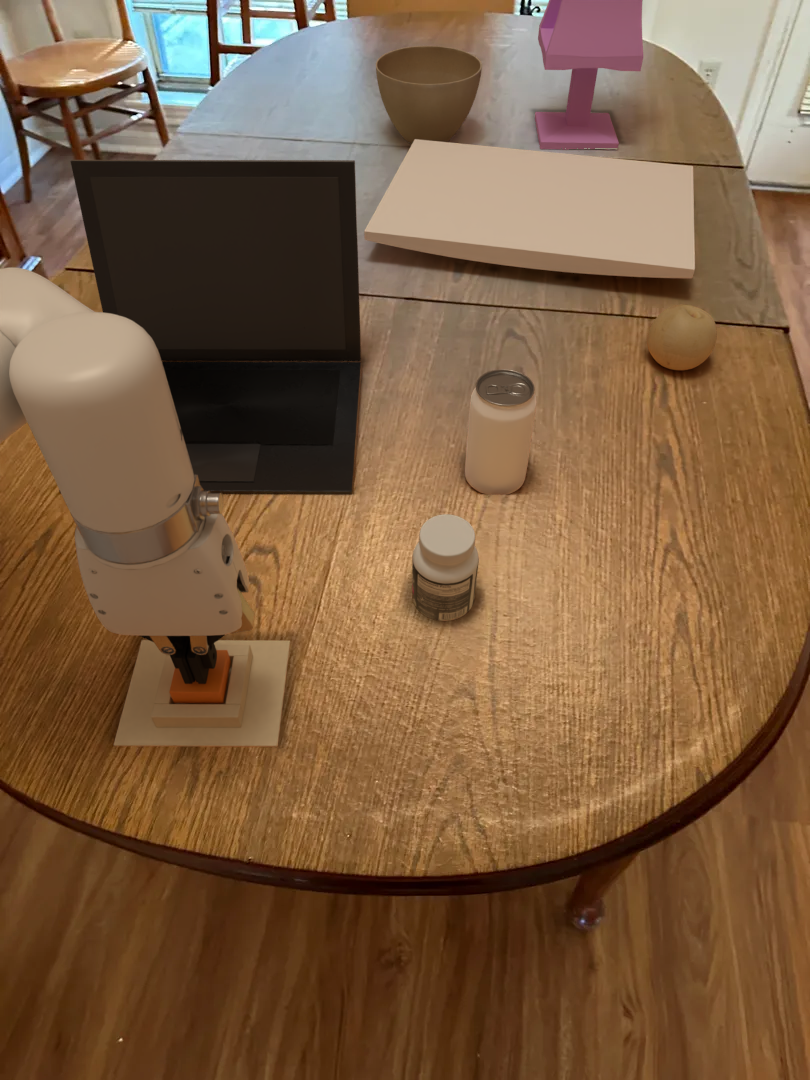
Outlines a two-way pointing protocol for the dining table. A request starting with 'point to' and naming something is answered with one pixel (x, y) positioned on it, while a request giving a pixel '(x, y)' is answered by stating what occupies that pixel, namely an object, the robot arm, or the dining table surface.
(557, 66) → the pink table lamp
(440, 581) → the pill bottle
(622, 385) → the dining table surface
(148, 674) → the stepped tan base
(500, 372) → the can
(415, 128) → the flower pot
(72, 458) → the robot arm
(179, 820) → the dining table surface
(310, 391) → the laptop
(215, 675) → the push button
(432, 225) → the board
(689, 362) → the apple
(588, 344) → the dining table surface
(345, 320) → the laptop screen
